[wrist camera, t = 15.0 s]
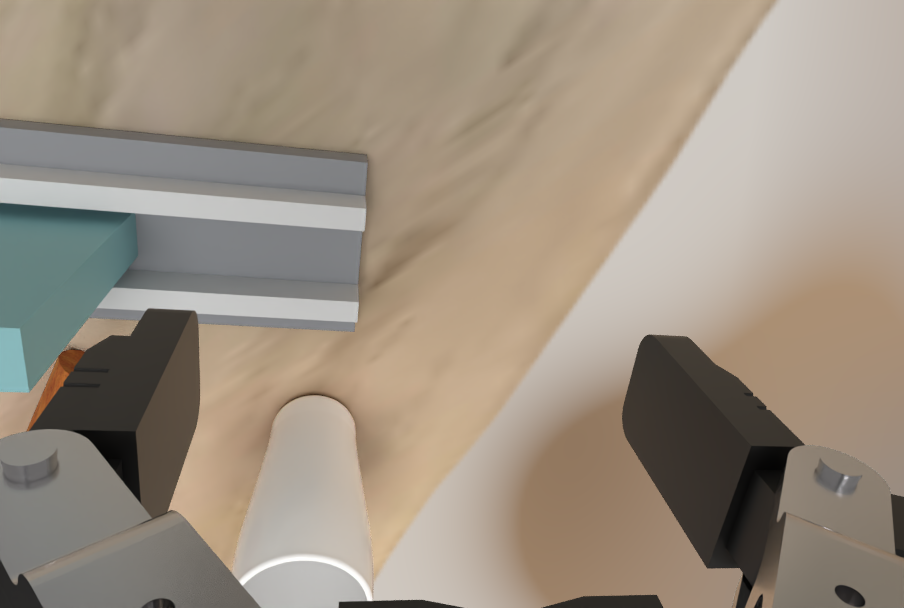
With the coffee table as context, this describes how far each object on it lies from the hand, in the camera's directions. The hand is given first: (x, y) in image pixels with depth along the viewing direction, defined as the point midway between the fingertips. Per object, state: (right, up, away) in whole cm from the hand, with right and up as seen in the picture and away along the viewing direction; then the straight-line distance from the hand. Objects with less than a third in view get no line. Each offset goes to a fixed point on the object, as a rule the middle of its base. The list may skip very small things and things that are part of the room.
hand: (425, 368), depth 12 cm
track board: (-17, +6, +26) cm, 31 cm away
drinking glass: (-9, -7, +33) cm, 35 cm away
